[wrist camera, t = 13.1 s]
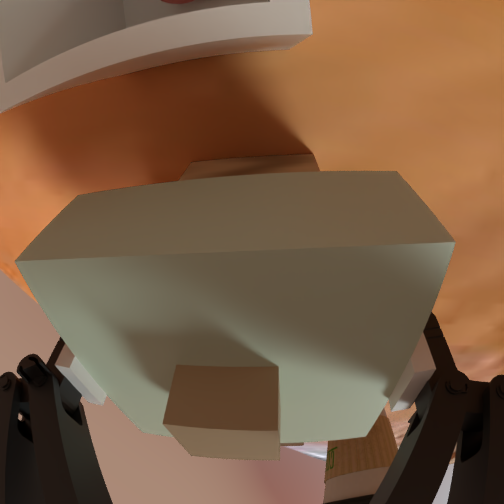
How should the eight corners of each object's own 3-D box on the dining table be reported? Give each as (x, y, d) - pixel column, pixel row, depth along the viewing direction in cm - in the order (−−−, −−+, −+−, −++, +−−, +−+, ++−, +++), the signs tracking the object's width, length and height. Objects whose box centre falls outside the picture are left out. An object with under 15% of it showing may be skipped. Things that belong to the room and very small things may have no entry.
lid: (396, 171, 9) (499, 307, 4) (356, 370, 15) (369, 473, 10) (78, 195, 10) (-24, 310, 5) (158, 371, 16) (134, 465, 11)
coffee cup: (302, 413, 35) (302, 522, 23) (344, 376, 29) (356, 513, 17) (363, 419, 36) (372, 516, 24) (410, 385, 31) (431, 499, 19)
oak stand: (313, 154, 16) (320, 173, 14) (313, 255, 21) (317, 285, 18) (191, 162, 17) (176, 182, 15) (210, 258, 21) (202, 288, 19)
